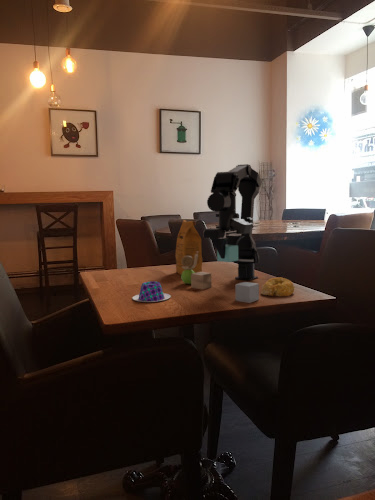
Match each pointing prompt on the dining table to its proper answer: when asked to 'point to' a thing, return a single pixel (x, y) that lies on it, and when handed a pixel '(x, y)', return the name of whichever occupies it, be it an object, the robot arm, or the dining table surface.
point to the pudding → (151, 292)
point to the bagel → (278, 287)
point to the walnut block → (201, 280)
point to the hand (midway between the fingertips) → (227, 257)
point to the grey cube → (247, 292)
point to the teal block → (229, 254)
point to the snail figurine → (188, 268)
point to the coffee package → (188, 246)
